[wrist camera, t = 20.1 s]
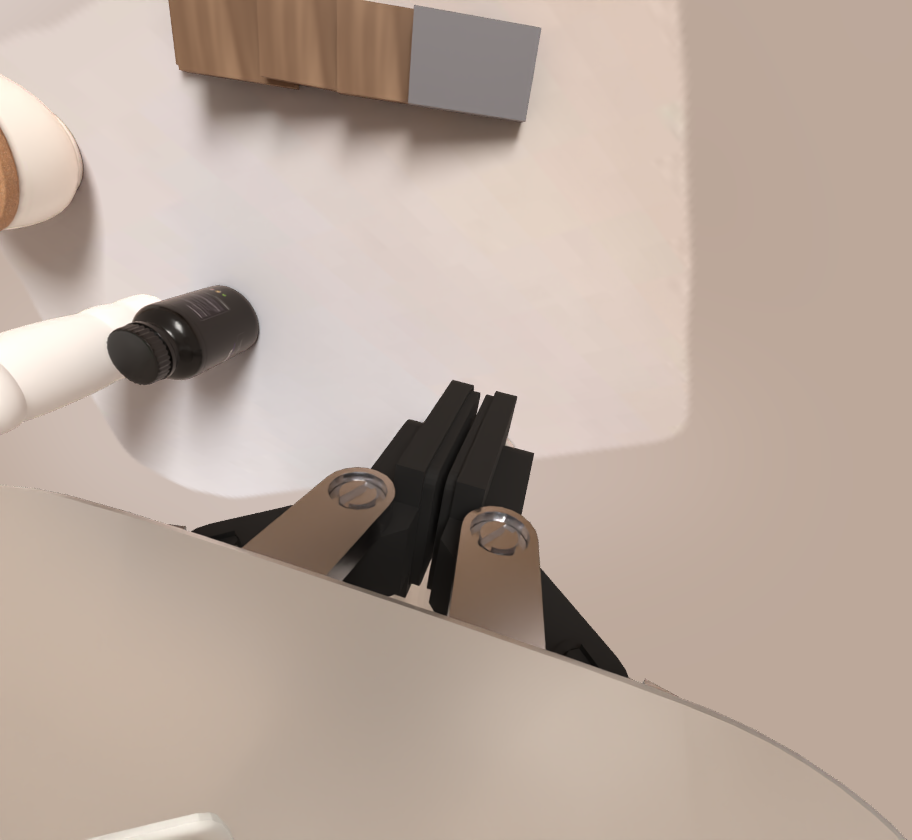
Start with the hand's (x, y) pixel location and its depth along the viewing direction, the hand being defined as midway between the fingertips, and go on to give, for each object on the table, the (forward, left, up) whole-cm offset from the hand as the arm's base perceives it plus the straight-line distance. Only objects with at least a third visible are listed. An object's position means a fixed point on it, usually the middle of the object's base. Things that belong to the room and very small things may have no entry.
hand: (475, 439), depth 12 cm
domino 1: (+11, +22, -28) cm, 37 cm away
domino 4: (+11, +4, -28) cm, 31 cm away
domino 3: (+11, +10, -28) cm, 32 cm away
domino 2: (+11, +15, -28) cm, 34 cm away
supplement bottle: (-12, +30, -29) cm, 44 cm away
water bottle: (-15, +39, -29) cm, 51 cm away
